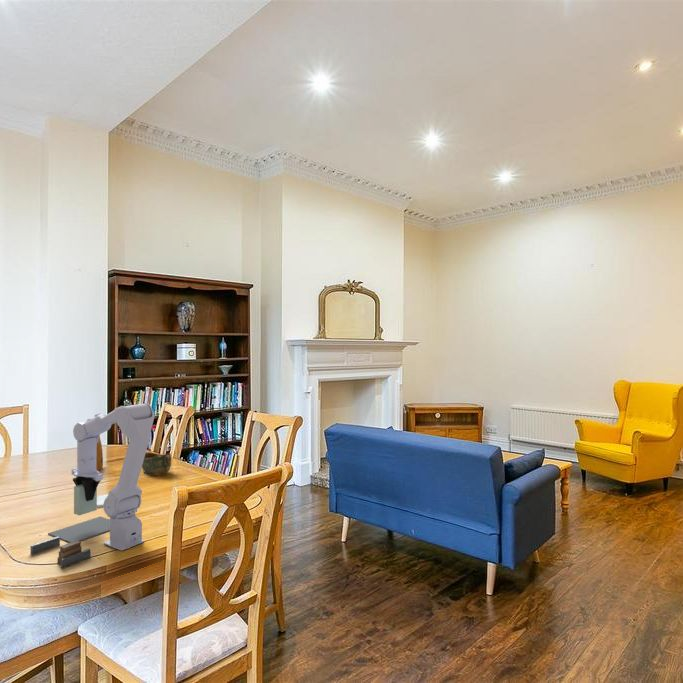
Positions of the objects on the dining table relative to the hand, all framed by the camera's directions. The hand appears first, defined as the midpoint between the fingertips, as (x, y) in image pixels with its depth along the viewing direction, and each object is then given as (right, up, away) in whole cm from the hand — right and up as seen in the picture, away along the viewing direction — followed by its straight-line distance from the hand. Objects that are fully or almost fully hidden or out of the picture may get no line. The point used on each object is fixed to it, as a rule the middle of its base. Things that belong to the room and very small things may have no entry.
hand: (86, 499), depth 163 cm
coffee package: (-36, -10, +75) cm, 84 cm away
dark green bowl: (-3, -10, +70) cm, 70 cm away
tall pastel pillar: (0, -4, 0) cm, 4 cm away
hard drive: (-7, -11, +29) cm, 32 cm away
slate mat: (0, -10, +1) cm, 10 cm away
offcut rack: (+2, -11, -19) cm, 22 cm away
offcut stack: (+7, -11, -22) cm, 25 cm away
